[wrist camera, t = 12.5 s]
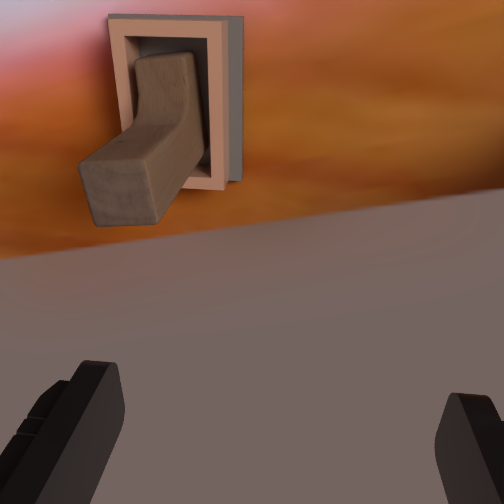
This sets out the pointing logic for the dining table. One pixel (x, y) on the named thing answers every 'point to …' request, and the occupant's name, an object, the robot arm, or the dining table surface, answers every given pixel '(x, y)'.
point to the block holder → (210, 76)
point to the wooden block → (149, 146)
